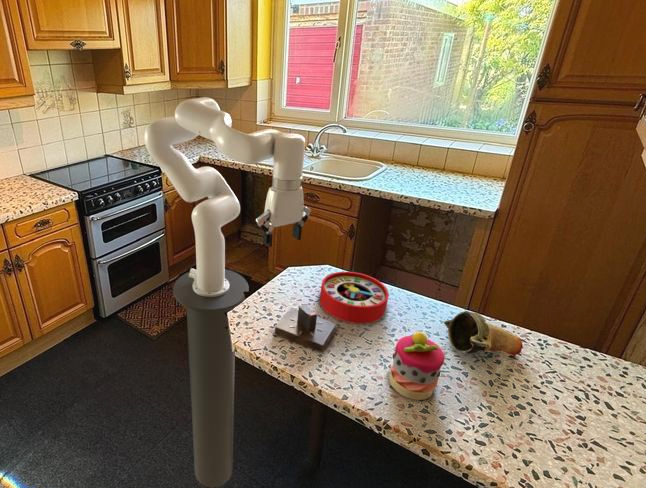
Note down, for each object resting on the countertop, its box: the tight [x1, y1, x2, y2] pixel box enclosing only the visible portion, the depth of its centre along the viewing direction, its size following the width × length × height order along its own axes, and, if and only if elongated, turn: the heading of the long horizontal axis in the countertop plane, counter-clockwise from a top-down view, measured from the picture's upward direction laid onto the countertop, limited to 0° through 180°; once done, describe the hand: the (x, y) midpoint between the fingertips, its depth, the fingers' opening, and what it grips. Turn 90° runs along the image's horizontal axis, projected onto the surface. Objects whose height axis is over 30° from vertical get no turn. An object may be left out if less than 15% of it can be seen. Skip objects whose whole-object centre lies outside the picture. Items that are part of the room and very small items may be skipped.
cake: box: [388, 331, 446, 401], centre depth 93 cm, size 10×11×15 cm
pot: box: [443, 310, 524, 357], centre depth 106 cm, size 17×11×18 cm
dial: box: [297, 304, 318, 331], centre depth 112 cm, size 5×2×5 cm, turn 27°
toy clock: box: [319, 271, 390, 325], centre depth 125 cm, size 20×6×20 cm
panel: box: [274, 307, 338, 353], centre depth 113 cm, size 14×11×3 cm
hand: (282, 241), depth 111 cm, fingers open, 9 cm apart
